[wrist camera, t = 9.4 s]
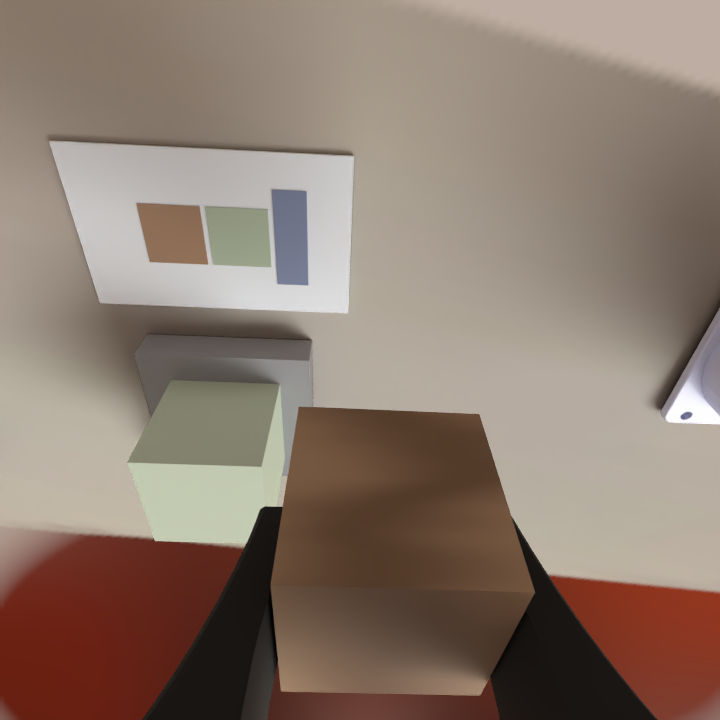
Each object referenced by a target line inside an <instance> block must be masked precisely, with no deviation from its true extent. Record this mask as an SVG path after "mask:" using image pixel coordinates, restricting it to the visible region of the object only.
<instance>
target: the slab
mask: <svg viewBox="0 0 720 720" xmlns="http://www.w3.org/2000/svg"><path fill="white" fill-rule="evenodd" d="M133 355H134V359H135V362H136V366H137V369H138V372H139V376H140V379H141V383H142V386H143V390H144V393H145V397H146V400H147V404H148V407H149V411H150V414H151V417H152V415H153V413H154V411H155V409H156V408H157V406H158V404H159V402H160V400H161V398H162V396H163V395H164V393H165V391H166V389H167V387H168V385H169V383H170V381H171V380H183V381H211V382H238V383H265V384H280V392H281V407H282V422H283V437H284V452H285V461H284V466H283V472H282V476H288V471H289V465H290V459H291V452H292V446H293V440H294V433H295V427H296V421H297V414H298V408H299V407H313V365H312V341H311V340H285V339H260V338H234V337H208V336H182V335H157V334H147V335H146V337H145V338H144V340H143V341H142V342H141V344H140V345H139V347H138V348H137V350H136V351H135V352H134V354H133Z"/></svg>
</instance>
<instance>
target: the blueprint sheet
mask: <svg viewBox="0 0 720 720" xmlns="http://www.w3.org/2000/svg"><path fill="white" fill-rule="evenodd" d="M49 143H50V146H51V150H52V153H53V156H54V159H55V162H56V165H57V169H58V172H59V175H60V178H61V181H62V184H63V188H64V191H65V194H66V197H67V200H68V203H69V207H70V210H71V213H72V216H73V219H74V222H75V226H76V229H77V232H78V235H79V238H80V241H81V245H82V248H83V251H84V254H85V257H86V260H87V264H88V267H89V270H90V273H91V276H92V280H93V283H94V286H95V289H96V292H97V295H98V299H99V302H100V303H107V304H132V305H156V306H181V307H206V308H230V309H255V310H279V311H304V312H328V313H348V303H349V276H350V250H351V223H352V197H353V170H354V156H349V155H329V154H310V153H290V152H270V151H251V150H231V149H211V148H191V147H172V146H152V145H132V144H113V143H93V142H73V141H53V140H51V141H49Z"/></svg>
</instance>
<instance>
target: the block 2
mask: <svg viewBox="0 0 720 720" xmlns="http://www.w3.org/2000/svg"><path fill="white" fill-rule="evenodd" d="M534 594H535V591H534V587H533V584H532V581H531V578H530V575H529V571H528V568H527V565H526V562H525V559H524V556H523V552H522V549H521V546H520V543H519V540H518V536H517V533H516V530H515V527H514V524H513V520H512V517H511V514H510V511H509V508H508V504H507V501H506V498H505V495H504V492H503V489H502V485H501V482H500V479H499V476H498V473H497V469H496V466H495V463H494V460H493V457H492V453H491V450H490V447H489V444H488V441H487V438H486V434H485V431H484V428H483V425H482V422H481V418H480V415H479V414H461V413H438V412H414V411H391V410H368V409H344V408H321V407H299V408H298V414H297V421H296V427H295V433H294V440H293V446H292V452H291V459H290V465H289V471H288V478H287V484H286V490H285V496H284V503H283V509H282V515H281V522H280V528H279V534H278V541H277V547H276V553H275V560H274V566H273V572H272V579H271V595H272V605H273V615H274V625H275V635H276V645H277V655H278V665H279V675H280V685H281V691H287V692H336V693H337V692H338V693H387V694H389V693H390V694H436V695H438V694H439V695H480V694H481V692H482V691H483V689H484V687H485V685H486V683H487V681H488V679H489V678H490V676H491V674H492V672H493V670H494V668H495V666H496V664H497V663H498V661H499V659H500V657H501V655H502V653H503V651H504V650H505V648H506V646H507V644H508V642H509V640H510V638H511V636H512V635H513V633H514V631H515V629H516V627H517V625H518V623H519V622H520V620H521V618H522V616H523V614H524V612H525V610H526V608H527V607H528V605H529V603H530V601H531V599H532V597H533V595H534Z"/></svg>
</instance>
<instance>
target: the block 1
mask: <svg viewBox="0 0 720 720" xmlns="http://www.w3.org/2000/svg"><path fill="white" fill-rule="evenodd" d="M284 461H285V452H284V437H283V422H282V407H281V392H280V384H265V383H238V382H211V381H183V380H171V381H170V383H169V385H168V387H167V389H166V391H165V393H164V395H163V396H162V398H161V400H160V402H159V404H158V406H157V408H156V409H155V411H154V413H153V415H152V417H151V419H150V421H149V423H148V424H147V426H146V428H145V430H144V432H143V434H142V436H141V438H140V439H139V441H138V443H137V445H136V447H135V449H134V451H133V452H132V454H131V456H130V458H129V460H128V462H127V464H128V467H129V469H130V472H131V475H132V478H133V481H134V483H135V486H136V489H137V492H138V495H139V497H140V500H141V503H142V506H143V509H144V511H145V514H146V517H147V520H148V523H149V525H150V528H151V531H152V534H153V537H154V539H155V541H177V542H215V543H247V541H248V539H249V537H250V534H251V532H252V529H253V527H254V524H255V522H256V519H257V516H258V513H259V511H260V509H261V508H263V507H264V506H269V507H277V501H278V495H279V490H280V484H281V478H282V472H283V466H284Z"/></svg>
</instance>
